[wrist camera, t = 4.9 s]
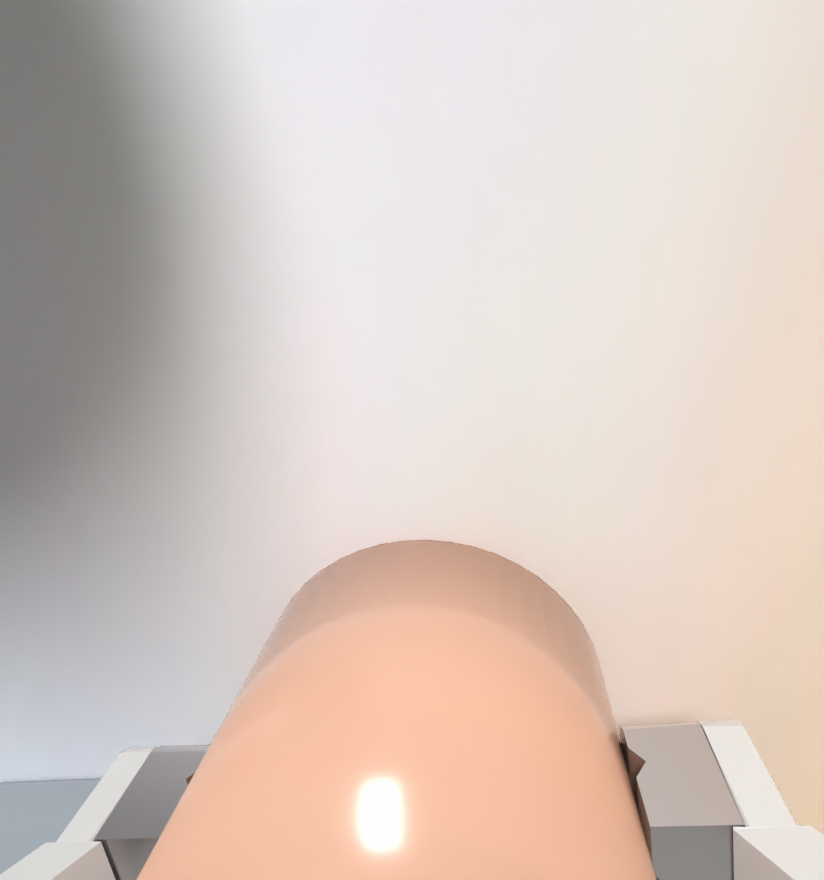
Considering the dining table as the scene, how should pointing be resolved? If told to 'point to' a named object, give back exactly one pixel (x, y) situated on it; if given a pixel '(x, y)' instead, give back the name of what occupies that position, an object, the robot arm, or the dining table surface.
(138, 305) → the dining table surface
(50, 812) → the divided tray
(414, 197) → the dining table surface
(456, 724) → the peach rounded block
